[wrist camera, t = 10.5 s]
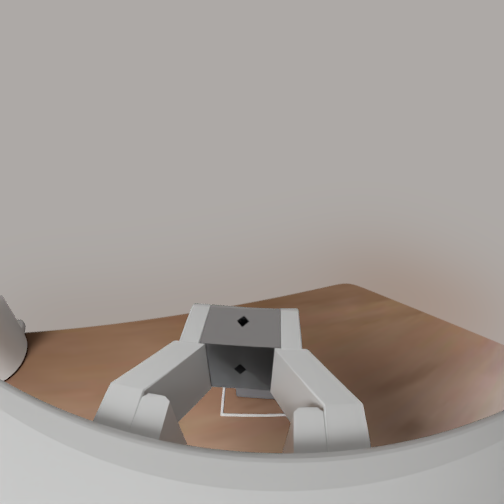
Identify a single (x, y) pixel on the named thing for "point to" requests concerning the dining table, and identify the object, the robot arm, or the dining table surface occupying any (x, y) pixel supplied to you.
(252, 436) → the dining table surface
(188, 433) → the dining table surface
